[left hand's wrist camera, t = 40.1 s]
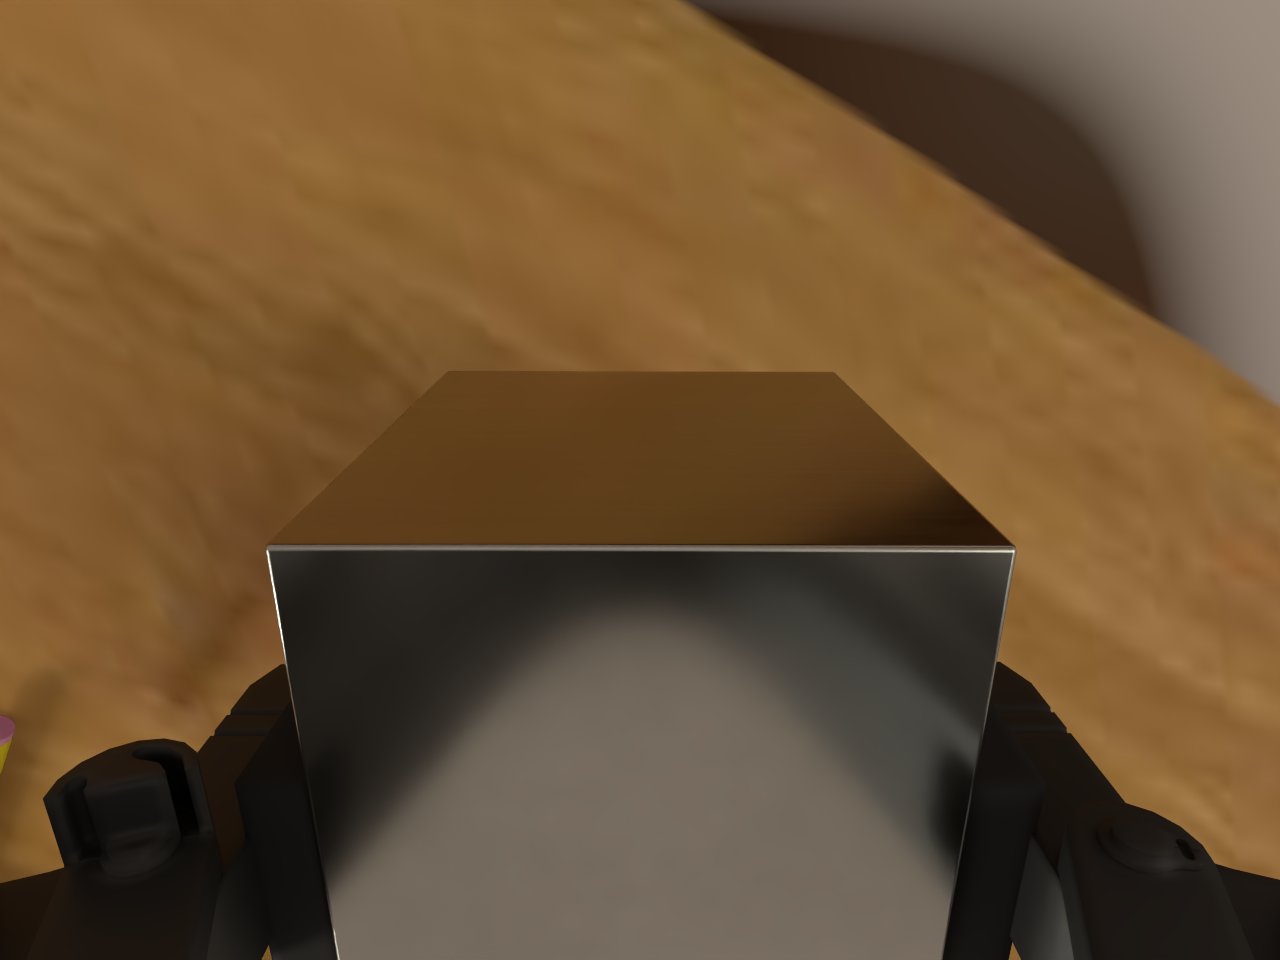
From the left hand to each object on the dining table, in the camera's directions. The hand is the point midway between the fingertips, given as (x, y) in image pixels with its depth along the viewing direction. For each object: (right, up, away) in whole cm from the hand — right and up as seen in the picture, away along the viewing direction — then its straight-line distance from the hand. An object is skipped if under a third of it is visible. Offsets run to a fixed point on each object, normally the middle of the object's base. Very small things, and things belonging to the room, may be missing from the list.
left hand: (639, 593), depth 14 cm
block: (0, 0, 0) cm, 0 cm away
